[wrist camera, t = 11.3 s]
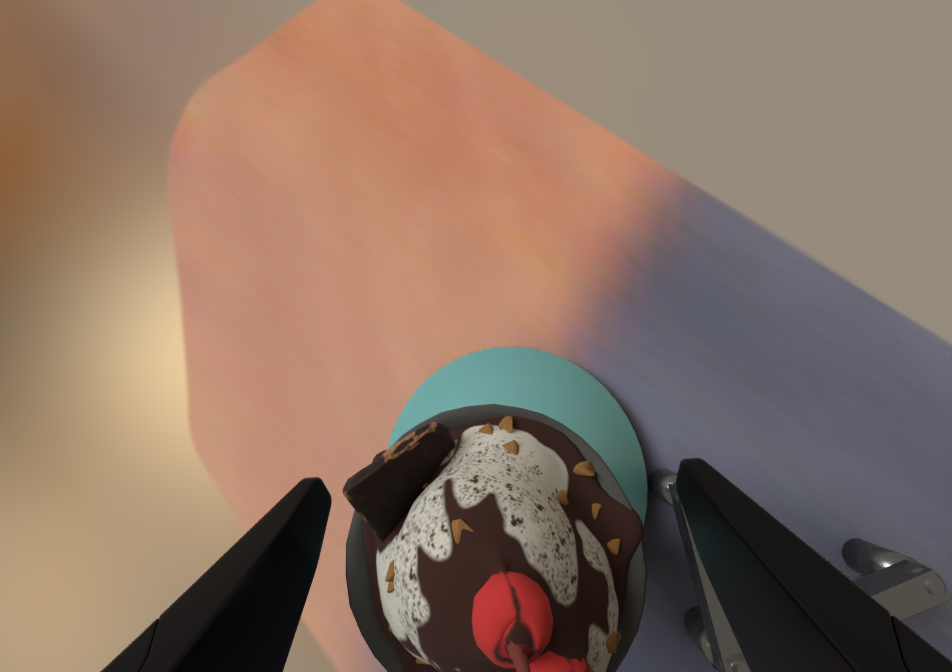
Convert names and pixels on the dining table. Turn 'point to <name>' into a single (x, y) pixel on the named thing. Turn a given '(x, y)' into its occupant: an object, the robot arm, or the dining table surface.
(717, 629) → the jointed flat metal bars
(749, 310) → the dining table surface
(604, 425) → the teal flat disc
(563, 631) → the sundae
